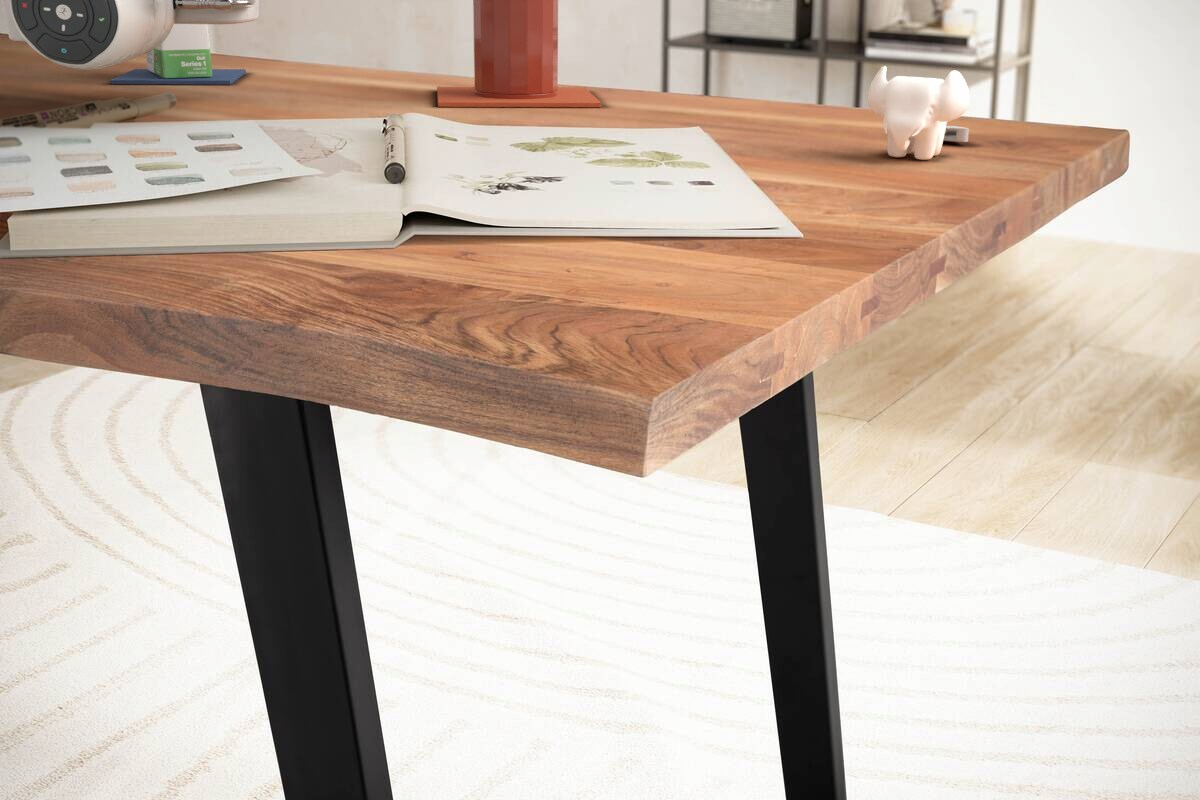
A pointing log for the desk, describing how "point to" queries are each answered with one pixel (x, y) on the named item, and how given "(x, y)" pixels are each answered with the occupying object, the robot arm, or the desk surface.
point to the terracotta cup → (515, 48)
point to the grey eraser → (956, 134)
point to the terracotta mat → (469, 99)
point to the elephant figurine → (917, 110)
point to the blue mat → (151, 78)
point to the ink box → (182, 53)
